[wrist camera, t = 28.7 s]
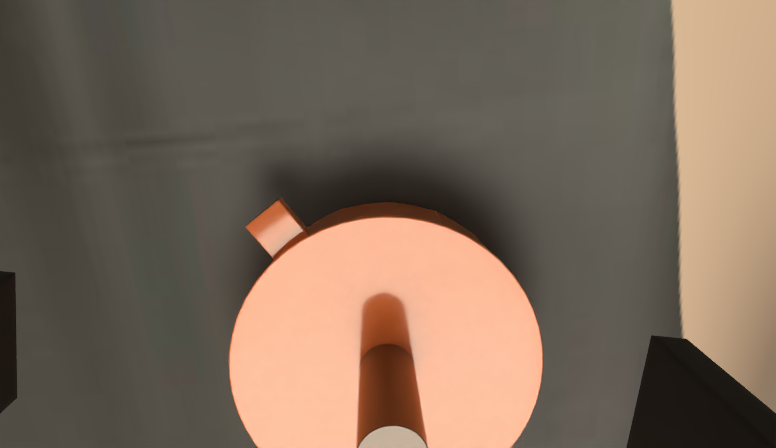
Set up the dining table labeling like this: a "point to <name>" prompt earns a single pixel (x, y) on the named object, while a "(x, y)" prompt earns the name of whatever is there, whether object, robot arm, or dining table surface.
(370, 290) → the pot lid
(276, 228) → the pot
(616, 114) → the dining table surface
